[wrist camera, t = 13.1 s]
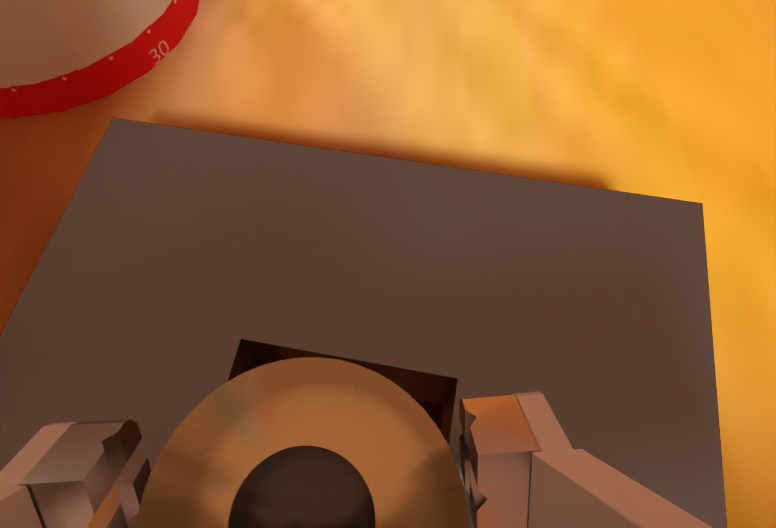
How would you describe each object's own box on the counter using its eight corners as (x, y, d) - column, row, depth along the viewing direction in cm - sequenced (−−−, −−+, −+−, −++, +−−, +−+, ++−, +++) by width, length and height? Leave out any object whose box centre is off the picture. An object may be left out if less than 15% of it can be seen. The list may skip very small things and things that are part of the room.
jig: (654, 1015, 11) (784, 1276, 7) (-100, 798, 12) (-305, 923, 9) (640, 261, 18) (701, 203, 14) (165, 187, 20) (112, 117, 16)
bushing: (412, 605, 14) (443, 775, 7) (238, 567, 14) (77, 688, 7) (438, 420, 16) (487, 386, 8) (283, 390, 16) (193, 331, 9)
